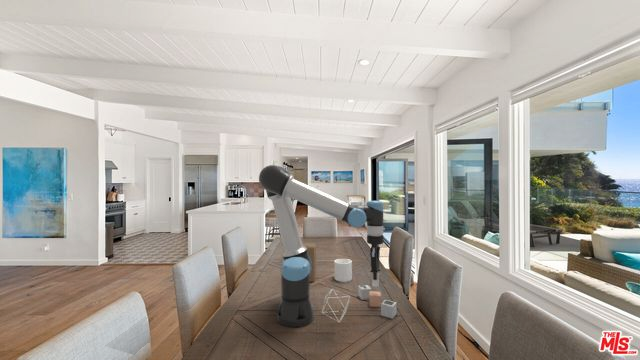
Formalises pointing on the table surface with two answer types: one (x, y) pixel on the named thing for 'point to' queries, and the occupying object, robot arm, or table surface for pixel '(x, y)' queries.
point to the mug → (343, 270)
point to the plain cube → (375, 299)
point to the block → (312, 254)
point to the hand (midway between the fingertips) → (375, 285)
